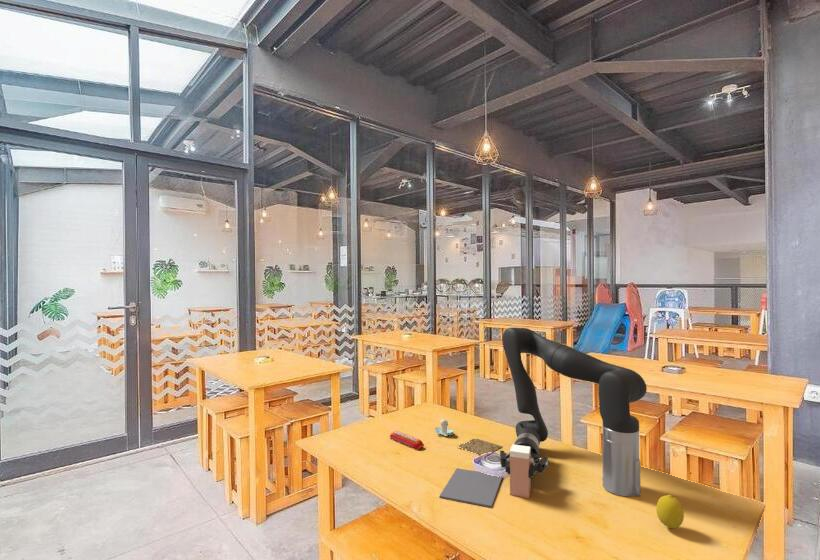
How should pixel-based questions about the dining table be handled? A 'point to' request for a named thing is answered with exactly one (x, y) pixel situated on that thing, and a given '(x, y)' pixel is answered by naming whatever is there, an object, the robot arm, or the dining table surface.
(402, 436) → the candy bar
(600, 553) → the dining table surface
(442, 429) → the pacifier
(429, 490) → the dining table surface
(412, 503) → the dining table surface
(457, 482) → the mat
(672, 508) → the lemon
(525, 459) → the block
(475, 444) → the mottled brown square tile
